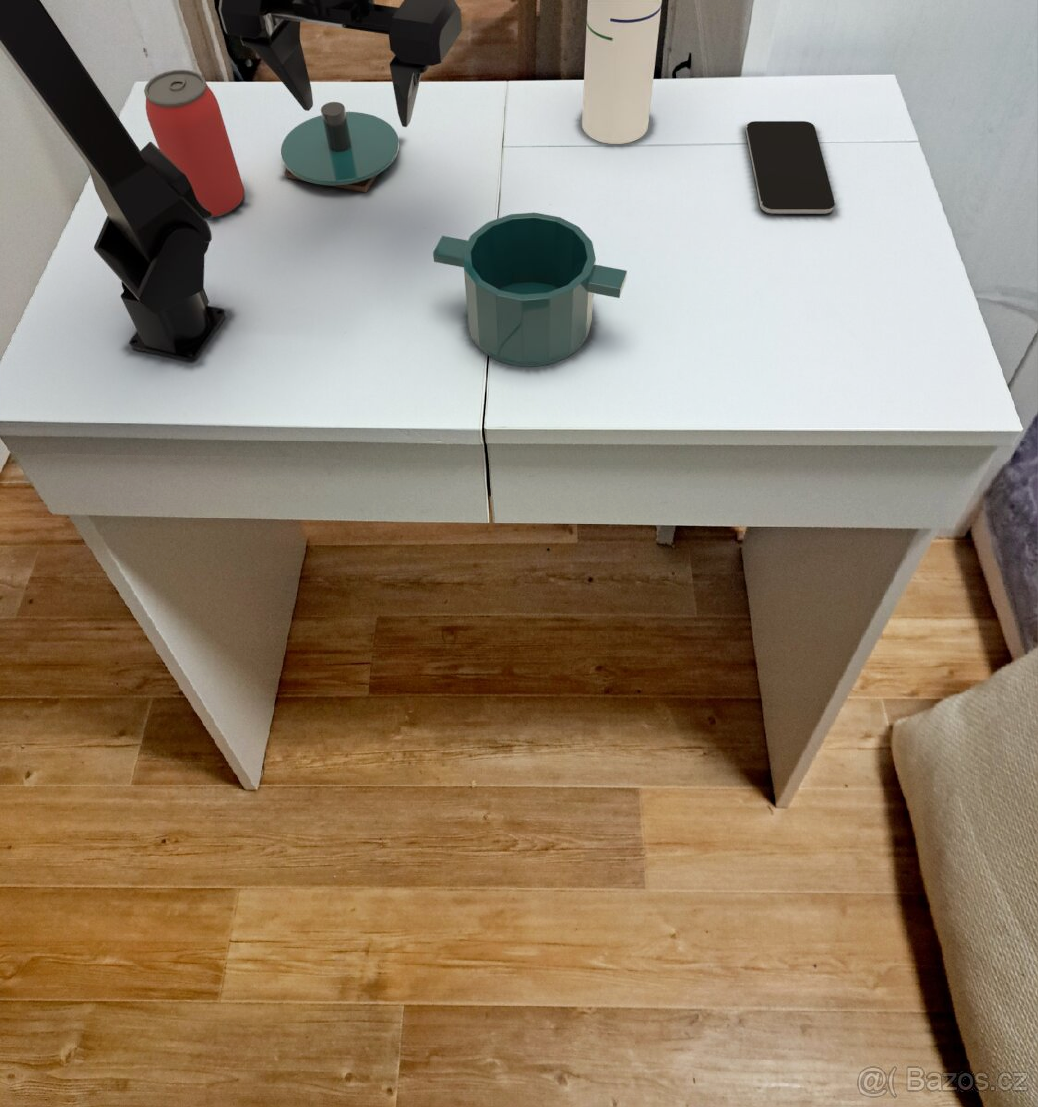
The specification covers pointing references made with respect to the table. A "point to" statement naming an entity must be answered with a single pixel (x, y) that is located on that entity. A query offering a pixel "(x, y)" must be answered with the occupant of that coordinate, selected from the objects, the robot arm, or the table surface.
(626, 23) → the cylindrical container
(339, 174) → the lid
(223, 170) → the beer can
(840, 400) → the table surface
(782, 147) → the smartphone
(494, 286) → the pot
